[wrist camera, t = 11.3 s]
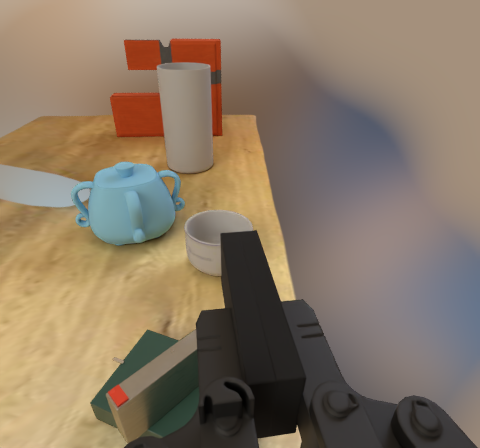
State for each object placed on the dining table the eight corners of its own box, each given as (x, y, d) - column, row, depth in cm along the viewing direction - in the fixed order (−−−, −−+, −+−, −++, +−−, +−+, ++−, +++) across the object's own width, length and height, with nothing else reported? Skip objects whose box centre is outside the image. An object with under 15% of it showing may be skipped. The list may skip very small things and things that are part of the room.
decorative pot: (136, 201, 75) (125, 142, 68) (194, 221, 69) (189, 157, 61) (73, 237, 63) (52, 170, 56) (136, 265, 57) (121, 193, 49)
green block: (287, 362, 42) (289, 346, 40) (229, 547, 27) (229, 534, 26) (160, 319, 47) (158, 303, 45) (57, 454, 33) (48, 438, 31)
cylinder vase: (208, 155, 99) (205, 61, 86) (217, 172, 89) (215, 69, 76) (165, 158, 96) (155, 63, 83) (169, 176, 86) (158, 71, 73)
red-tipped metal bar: (225, 342, 40) (225, 305, 37) (237, 352, 39) (237, 315, 36) (118, 429, 32) (104, 392, 28) (129, 445, 31) (116, 409, 27)
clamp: (122, 129, 119) (106, 37, 104) (221, 127, 122) (219, 38, 107) (116, 137, 111) (98, 40, 96) (222, 135, 114) (220, 41, 99)
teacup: (184, 249, 61) (180, 211, 56) (241, 240, 63) (242, 203, 59) (196, 305, 49) (192, 263, 45) (266, 292, 52) (269, 251, 47)
